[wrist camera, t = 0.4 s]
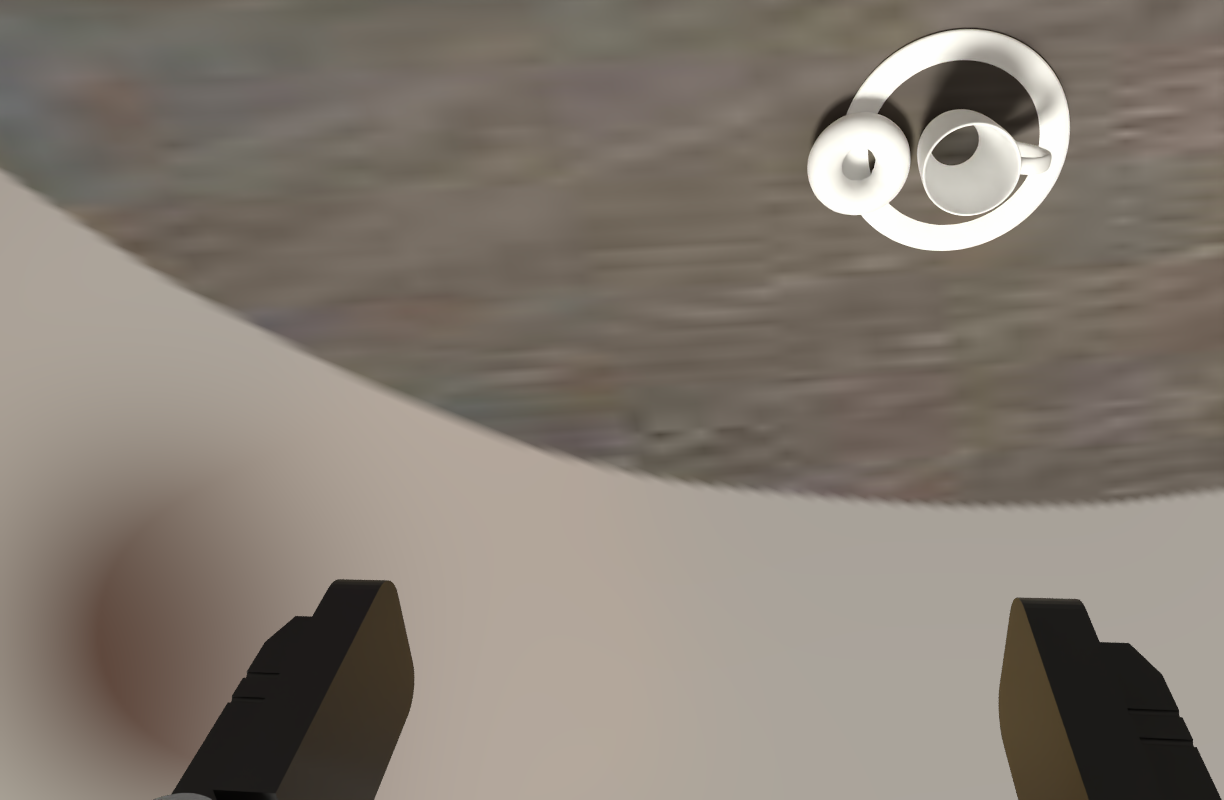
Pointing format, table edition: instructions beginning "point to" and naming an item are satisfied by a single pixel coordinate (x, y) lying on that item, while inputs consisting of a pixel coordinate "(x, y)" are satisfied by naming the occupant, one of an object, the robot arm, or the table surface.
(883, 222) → the teacup and saucer
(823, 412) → the table surface
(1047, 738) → the robot arm
